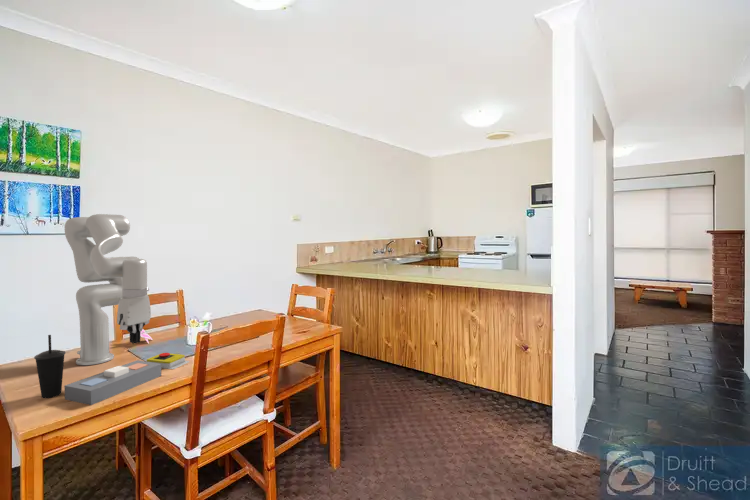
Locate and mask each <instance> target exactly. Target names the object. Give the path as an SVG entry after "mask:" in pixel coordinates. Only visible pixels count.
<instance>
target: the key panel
mask: <svg viewBox="0 0 750 500" xmlns="http://www.w3.org/2000/svg"><path fill="white" fill-rule="evenodd" d="M137 363H141V364H147V365H148V366H145V367H142V368H140V369H137V370H131V369H129V373H126V374H124V375H121V376H118V377H116V378H112V377H106V376H104V371H103V372H99V373H97V374H94V375H91V376H88V377H85V378H83V379H80V380H77V381H74V382H71V383H69V384H65V385H64V387H63V388H64V400H67V401H70V402H75V403H79V404H85V405H88V404H89V406H93V405H94V404H95V405H96V404H97V403H100V402H102V401H105V400H107V399H109V398H112V397H114V396H117V395H119V394H121V393H124V392H126V391H128V390H131V389H134V388H135V387H138V386H141V385H143V384H145V383H147V382H150V381H152V380H155V379H157V378H159V377H161V376H162V368H161V364H158V363H152V362H147V361H144V360H138V359H136V360H134V361H131V362H129V363H126V364H122V365H121V366H123V367H128V366H131V365H134V364H137ZM95 378H100V379H106V380H107V381H105V382H102V383H100V384H97V385H94V386H92V387H90V386H85V385H81V383H83V382H86V381H89V380H92V379H95Z"/></svg>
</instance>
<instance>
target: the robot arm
mask: <svg viewBox="0 0 750 500" xmlns="http://www.w3.org/2000/svg"><path fill="white" fill-rule="evenodd" d="M130 230H131V224H130V221H129V219H128V218H127V217H126V216H124V215H121V214H110V213H109V214H108V213H107V214H105V213H103V214H102V213H99V214H98V213H97V214H92V215H90V216H88V217H87V216H77V217H72V218H69V219H67V220H66V221H65V224H64V236H65V239H66V241H67V243H68V245H69V247H70V249H71V250H72V254H73V259H74V265H75V271H76V272H75V273H76V276H77V279H78V280H79V282H80V283H85V284H86V283H100V282H102V283H100V284H91V285H86V286H82V287H80V288H79V289H78V290H77V291H76V294H75V300H76V304H77V309H78V315H79V335H80V338H79V339H80V342H79V343H80V349H79V350H78V351H76V354H77V355H79V358H77V359H76V360H75V364H76V365H78V366H94V365H98V364H102V363H106V362H109V361H111V360H113V359H114V358H115V355H114V353H111V352H110V326H109V325H110V323H109V316H108V314H107V313H106V312H105V311H104V310H103V309H102V308H105V307H111V306H117V313H116V324H117V325H120V326H119V330H120V331H121V330H123V331H127V332H128V333H129V343H131V344H132V343H133V344H139V343H141V337H140V331H142V329H144V327H145V326H146V325H148V324H149V323H150V320H151V316H152V315H151V314H152V312H151V311H152V310H151V309H152V308H151V302H150V301H151V300H150V296H149V295H148V292H149V291H150V288H149V287H148V262H147V260H146V259H143V258H140V257H137V256H116V257H114V256H111V257H106V256H105V255H108V254H109V253H110V254H111V253H112V252H115V251H117V250H118V249H119V248H120V247H122V245H123V243H124V239H123V237H122V236H125V235H126V236H127V234H128V233H130ZM88 238H92V239H93V241H94V243H93V241H91V240H90V239H88ZM103 282H109V283H103Z"/></svg>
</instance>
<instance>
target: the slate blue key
mask: <svg viewBox="0 0 750 500" xmlns="http://www.w3.org/2000/svg"><path fill="white" fill-rule="evenodd" d="M105 381H107V380H106V379H100V378H95V379H92V380H89V381H86V382H83V383H81V385H85V386H90V387H92V386H94V385H97V384H100V383H102V382H105Z"/></svg>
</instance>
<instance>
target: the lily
mask: <svg viewBox="0 0 750 500" xmlns="http://www.w3.org/2000/svg"><path fill="white" fill-rule="evenodd" d="M140 338H143V339H145V341H146V342H147V343H148V344H150V343H149V340H152V341H153V338H152V336H150V335H149V334H148V333H147V331H146V330H145V329H144V328H142V331H140ZM131 344H132V345H133V344H134V343H131Z"/></svg>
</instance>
